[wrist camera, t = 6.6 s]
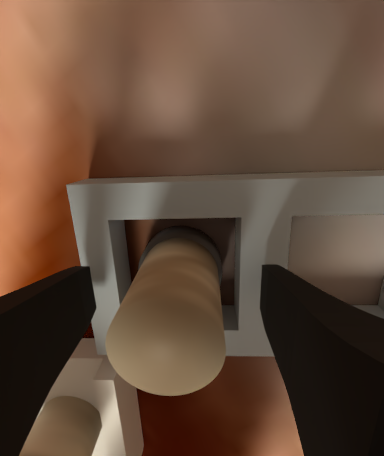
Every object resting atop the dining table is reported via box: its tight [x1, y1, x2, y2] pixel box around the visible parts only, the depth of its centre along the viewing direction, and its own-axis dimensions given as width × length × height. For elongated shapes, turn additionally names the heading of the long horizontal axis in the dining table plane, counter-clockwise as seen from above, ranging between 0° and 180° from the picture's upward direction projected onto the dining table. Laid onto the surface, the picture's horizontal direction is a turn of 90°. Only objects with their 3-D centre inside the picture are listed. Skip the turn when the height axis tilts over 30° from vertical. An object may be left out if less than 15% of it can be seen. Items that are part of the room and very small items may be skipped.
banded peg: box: [105, 226, 226, 396], centre depth 10 cm, size 4×4×6 cm
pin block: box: [66, 170, 384, 356], centre depth 12 cm, size 8×16×2 cm, turn 92°
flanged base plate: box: [36, 338, 144, 456], centre depth 15 cm, size 9×14×3 cm, turn 92°
